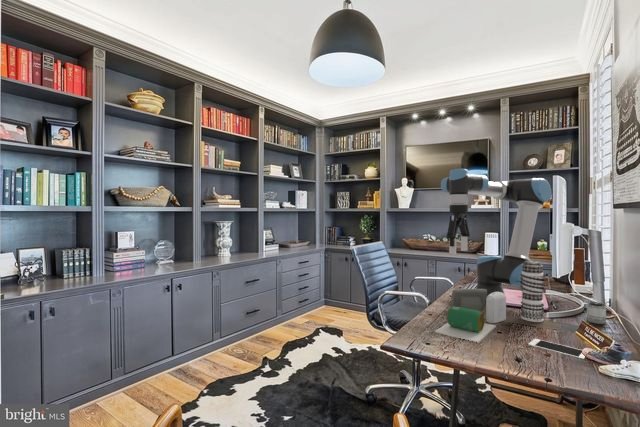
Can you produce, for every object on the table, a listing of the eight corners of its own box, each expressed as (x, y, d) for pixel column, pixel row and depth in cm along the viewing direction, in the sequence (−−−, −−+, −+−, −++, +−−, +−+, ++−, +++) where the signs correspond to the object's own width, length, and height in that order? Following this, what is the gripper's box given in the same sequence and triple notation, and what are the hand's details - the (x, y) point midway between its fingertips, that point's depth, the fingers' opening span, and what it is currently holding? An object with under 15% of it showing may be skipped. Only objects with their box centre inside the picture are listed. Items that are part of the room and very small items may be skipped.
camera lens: (608, 322, 145) (609, 304, 144) (601, 325, 142) (601, 306, 141) (591, 318, 150) (591, 300, 150) (583, 320, 147) (583, 302, 147)
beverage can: (455, 315, 145) (486, 322, 137) (449, 329, 140) (480, 337, 132) (451, 301, 142) (482, 307, 134) (444, 315, 137) (476, 322, 129)
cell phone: (534, 339, 128) (534, 338, 128) (589, 353, 116) (589, 351, 116) (527, 345, 123) (527, 343, 123) (583, 360, 111) (583, 358, 111)
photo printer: (497, 317, 152) (497, 289, 152) (507, 320, 149) (507, 291, 149) (484, 321, 147) (484, 292, 147) (494, 324, 143) (494, 295, 143)
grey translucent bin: (484, 309, 165) (484, 286, 165) (489, 314, 156) (489, 291, 156) (448, 307, 168) (448, 285, 168) (451, 312, 160) (451, 290, 159)
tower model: (545, 323, 144) (546, 263, 143) (520, 320, 148) (520, 262, 148) (544, 317, 152) (544, 260, 151) (519, 314, 156) (519, 259, 156)
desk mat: (456, 318, 151) (456, 317, 151) (495, 326, 141) (495, 325, 141) (434, 332, 135) (434, 331, 135) (478, 343, 124) (478, 341, 124)
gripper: (460, 204, 164) (460, 248, 165) (438, 204, 146) (438, 254, 146) (476, 204, 159) (476, 250, 160) (456, 204, 141) (456, 256, 141)
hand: (458, 252), depth 153 cm, fingers open, 13 cm apart
